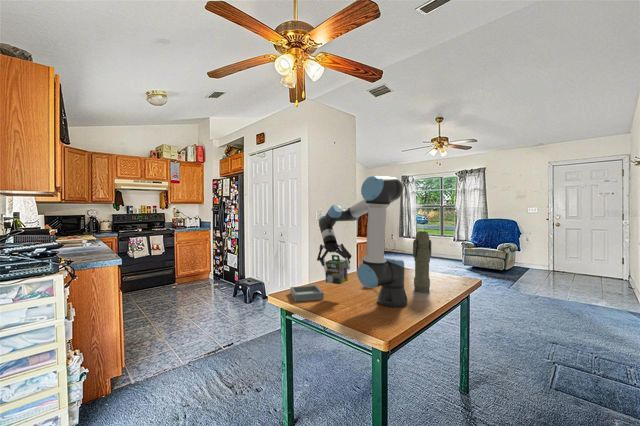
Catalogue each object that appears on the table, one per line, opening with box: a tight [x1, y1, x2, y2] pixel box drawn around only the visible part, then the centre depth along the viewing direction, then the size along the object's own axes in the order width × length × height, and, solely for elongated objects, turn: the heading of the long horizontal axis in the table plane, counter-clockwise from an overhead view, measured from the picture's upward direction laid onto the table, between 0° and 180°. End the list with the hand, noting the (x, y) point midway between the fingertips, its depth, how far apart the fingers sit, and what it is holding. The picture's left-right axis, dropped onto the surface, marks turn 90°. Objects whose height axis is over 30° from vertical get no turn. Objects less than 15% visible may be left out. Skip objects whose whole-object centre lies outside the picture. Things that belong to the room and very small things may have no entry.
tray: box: [290, 284, 325, 303], centre depth 163 cm, size 15×15×4 cm
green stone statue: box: [412, 230, 432, 293], centre depth 174 cm, size 9×12×35 cm
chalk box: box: [324, 254, 348, 285], centre depth 159 cm, size 9×9×15 cm
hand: (337, 269), depth 156 cm, fingers closed on chalk box, 12 cm apart
